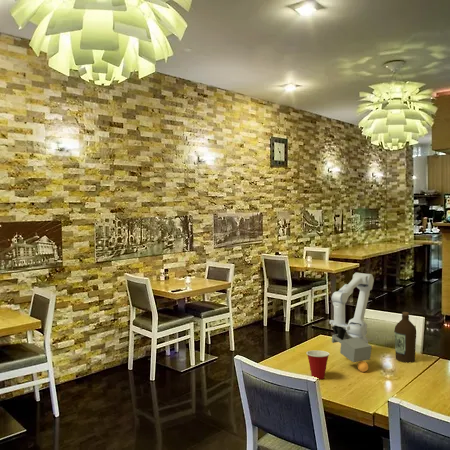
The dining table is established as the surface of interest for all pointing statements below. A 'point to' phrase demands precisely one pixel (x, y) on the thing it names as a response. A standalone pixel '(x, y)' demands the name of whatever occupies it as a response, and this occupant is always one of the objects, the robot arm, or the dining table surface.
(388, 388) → the dining table surface
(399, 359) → the olive oil
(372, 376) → the dining table surface
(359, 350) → the grey open rectangular frame
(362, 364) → the ball
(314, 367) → the plastic cup
